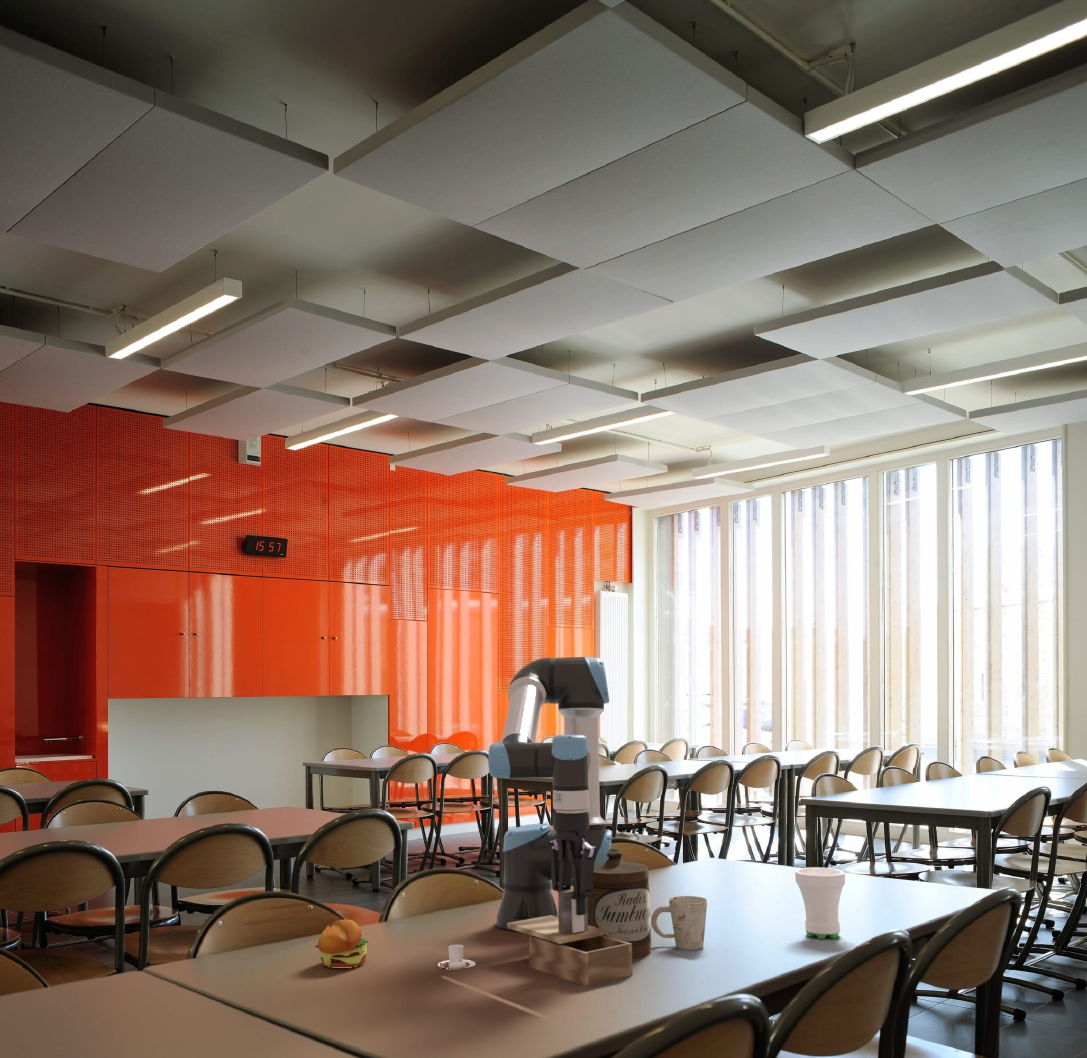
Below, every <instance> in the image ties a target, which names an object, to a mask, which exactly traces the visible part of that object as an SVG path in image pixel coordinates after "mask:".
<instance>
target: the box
mask: <svg viewBox="0 0 1087 1058" xmlns="http://www.w3.org/2000/svg"><path fill="white" fill-rule="evenodd" d="M528 950H529V951H528V955H529V956H528V963H529V964H528V965H529V966H528V967H529V968H531V969H534V970H536V971H540V972H543V973H545V974H547V975H548V974H549V975H551V976H554V977H558V978H559V979H563V980H565V981H568V982H572V983H574V984H578V985H579V986H580V985H581V986H583V987H590V986H593V985H598V984H602V983H605V982H610V981H614V980H618V979H622V978H627V977H628V978H629V977H631V976H633V975H634V974H633V973H634V972H633V971H634V969H633V959H632V943H628V942H624V941H621V940H617V939H613V938H610V937H606V936H603V935H602V936H597V937H592V938H587V939H582V940H577V941H572V942H567V943H562V944H559V943H556V942H552V941H549V940H546V939H542V938H539V937H536V936H532V935H529V936H528Z"/></svg>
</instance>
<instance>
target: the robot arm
mask: <svg viewBox="0 0 1087 1058" xmlns="http://www.w3.org/2000/svg"><path fill="white" fill-rule="evenodd" d="M606 676H607V675H606V668H605V663H604V661H603V660H602V659H601V658H599V657H591V656H577V657H576V656H573V657H572V656H571V657H570V656H569V657H542V658H538V659H536V660H533V661H531V662H529V663H527V664H526V665H524V666H523V667H522V668H521V669H519V670H518V671H517V673H516V674H515V675H514V676H513V678H512V679H511V681H510V682H509V685H508V686H509V687H508V688H507V689H508V691H507V697H508V698H507V699H508V702H509V704H508V710H507V713H506V719H505V724H504V729H503V733H502V737H501V738H502V739H501V741H500V742H495V743H491V744H490V746H489V747H488V756H487V757H488V759H487V762H488V763H487V765H488V773H489V775H490V776H491V777H493V778H496V779H498V778H500V779H501V778H503V779H507V780H508V779H509V780H510V779H527V778H528V779H532V778H533V779H535V778H537V779H539V778H540V779H541V778H542V779H551V778H552V808H553V810H555V811H554V812H553V813H552V827H551V825H550V824H549V823H537V824H536V823H535V824H528V825H521V826H517V827H513V828H511V829H509V830H507V831H506V832H505V834H504V836H503V848H502V852H503V892H502V893H503V894H502V897H501V900H500V904H499V908H498V911H497V913H496V926H497V927H498V928H500V929H501V930H502V929H503V930H507V931H514V932H517V931H516V930H512V929H509V928H507V923H510V922H516V921H521V920H527V919H533V918H538V917H544V916H549V915H552V916H555V917H558V908H557V905H556V902H555V898H554V896H553V893H552V890H553V891H556V892H557V893H558V891H564V890H571V889H573V890H574V896H571V912H572V932H573V933H576V932H581V931H584V915H585V898H586V897H587V896H590V895H592V894H593V875H594V863H597V862H606V861H607V860H608V858H609V857H608V856H607V855H606V854H607V851H608V850H610V849H611V847H612V838H613V831H612V830H610V829H607V822H606V820H604V818H602V816H601V807H600V806H601V803H600V801H601V800H600V795H601V794H600V759H599V758H600V756H599V755H600V753H599V751H600V750H599V749H600V748H599V717H600V715H602V714H603V712H604V711H605V705H606V704H609V703H610V695H609V689H608V688H609V687H608V682H607V681H608V680H607V677H606ZM544 704H554V705H555V704H557V705H558V706H557V707H558V708H557V709H558V710H557V711H558V712H559V714H561V716H562V717H563V719H564V721H563V723H564V724H563V725H564V729H563V730H564V734H557V735H555V736H554V737H552V742H536V741H537V739H536V738H537V733H538V732H537V731H538V726H539V721H540V720H539V719H540V712H541V708H542V707H543V705H544ZM572 887H573V888H572ZM579 891H580V892H579Z"/></svg>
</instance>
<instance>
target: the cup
mask: <svg viewBox="0 0 1087 1058" xmlns="http://www.w3.org/2000/svg"><path fill="white" fill-rule="evenodd" d="M794 875H795V876H794V877H795V883H796V885H797V887H798V888H799V891H800V893H801V896H802V900H803V903H804V909H805V921H804V923H805V932H806V935H807V937H809V938H814V937H817V938H818V939H819V940H824V939H826V937H827V936H828V938H830V939H833V940H834V939H835V940H836V939H837V938H838V935H839V934H840V932H841V925H840V921H839V904H840V899H841V894H842V892H843V887H844V886H845V884H846V873H845V872H844V871H843V870H842V869H836V868H829V867H819V866H818V867H817V866H816V867H801V868H797V869H796V870H794Z"/></svg>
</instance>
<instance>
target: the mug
mask: <svg viewBox="0 0 1087 1058" xmlns="http://www.w3.org/2000/svg"><path fill="white" fill-rule="evenodd" d="M668 901H669V902H668V903H669V905H664V906H662V905H661V906H658V907H657V908H656V909H655V910H654V911H653V913H652V914H651V916H650V918H651V928H652V930H653V931H654V933H656V934H657V935H658V936H660V937H661V938H663V939H674V943H675V948H677V949H679V950H684V951H697V950H701V949H703V948H704V945H705V944H704V943H705V942H704V941H705V933H706V931H705V930H706V922H707V921H706V918H707V908H708V900H707V899H706V898H705V897H701V896H692V895H680V896H679V895H678V896H673V897H670V898H669V899H668ZM662 913H670V917H671V923H672V929H673V933H664V932H663V931H661V929H660V928H659V926H658V923H657V920H658V917H659V915H660V914H662Z"/></svg>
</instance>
